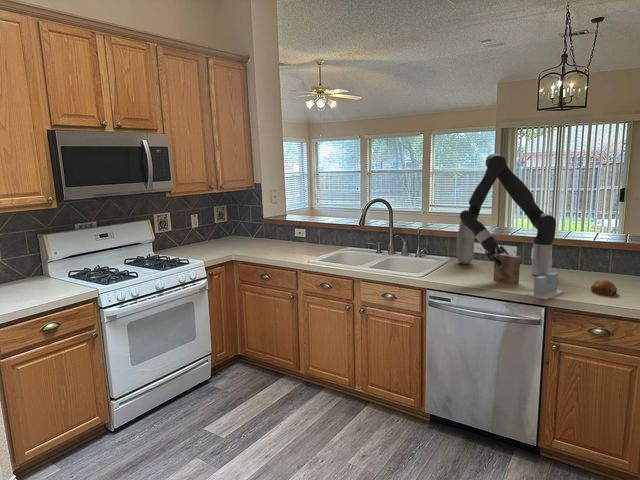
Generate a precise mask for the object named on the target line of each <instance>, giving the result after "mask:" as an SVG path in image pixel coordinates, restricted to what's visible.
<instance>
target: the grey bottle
mask: <svg viewBox="0 0 640 480" xmlns="http://www.w3.org/2000/svg"><path fill="white" fill-rule="evenodd" d="M456 235H457V236H456V251H455V252H456V255H455V256H456V260H457V261H458V262H459V263H460V264H464V265H467V264H470V263H471V262H472V261H473V259H474V255H475V254H474V253H475V252H474V251H475V235H474V234H473V232H472V231H471V230H470V229H469V228H468V227H467V226H466V225H465V224H464V223H463V222H462V221H461V220H460V221H459V227H458V232H457V234H456Z"/></svg>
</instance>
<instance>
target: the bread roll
mask: <svg viewBox="0 0 640 480" xmlns="http://www.w3.org/2000/svg"><path fill="white" fill-rule="evenodd" d="M590 290H591V292H592V293H594V294H597V295H601V296H606V297H607V296H610V297H611V296H616V294H617V292H618V287H617V286H616V285H615V284H614V283H613V282H612V281H610V280H608V279H599V280H598V279H597V280H596V281H594V282H593V283H592V284H591V287H590Z"/></svg>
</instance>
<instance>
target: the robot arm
mask: <svg viewBox="0 0 640 480" xmlns="http://www.w3.org/2000/svg"><path fill="white" fill-rule="evenodd" d="M485 166H486V170H485V173H484V175H483V177H482V179H481V181H480V182H479V183H478V184H477V186H476V188H475V189H474V191H473V192H472V195H471V196H470V198H469V201H468V205H469V207H468V209H464V210H462V211H461V212H460V214H459V219H460V221H462V222H463V223H464V224H465V225H466V226H467V227H468V228H469V229H470V230H471V231H472V232H473V234H474V237H475V238H476V239H477V241H478V243H479V244H480V245H481V248H482V249H484V250H485V251H484V254H485V255H486V256H487V257H488V259H489V261H493V262H494V261H495V263H496V264H497V265H498V266H499V267H500V266H501V265H502V263H501V262H500V260H499V259H497V255H498V254H500V253H502V254H508V255H510V254H509V252H508V251H507V250H506V248H504V246H503V245H500V246H499V245H498V243H499V242H498V240H497V239H495V237H494V235H493V234H492V232H490V230H489V229H487V228H486V226H485V225H484V223H482V222H481V221H479V220H478V218H479V215H480V212H481V209H482V206H483V204H484V201H485V200H486V198H487V196H488V194H489V192H490V190H491V188H492V187H493V185H494V184H495V182H496V180H497V179H498V180H499V181H500V183H501V184H502V187H503V188H504V189H505V191H506V192H507V194H508V195H509V197H510V198H511V200H513V202H514V203H516V205H517V206H518V207H519V209H520V210H521V211H522V212H524V214H525V215H526V217H527V218H528V220H529V221H530V223H531V224H532V226H533V227H534V229H536V230H537V232H536V236H535V237H534V238H533V240H532V241H533V242H532V256H531V269H530V271H531V273H530V274H531V275H534V276H536V277H538V276H546V274H547V273H550V272H552V268H553V267H552V266H553V265H552V264H553V257H552V255H553V241H554V239H555V236H556V229H557V221H556V218H555V217H554V216H552V215H550V214H547V213H545V212H544V211H543V210H541V208H540V207H539V205H537V203H536V201H535V199H534V196H533V194H532V191H531V190H530V189H529V187H528V186H527V185H526V184H525V183H524V182H523V181H522V179H521V178H519V177H518V176H517V175H516V173H513V171H512V170H511V169H510V167H509V166H508V165H507V161H506V158H505V157H504V156H503V155H502V154H499V153H491V154H489V155H488V156H487V157H486V159H485Z"/></svg>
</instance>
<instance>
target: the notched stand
mask: <svg viewBox="0 0 640 480" xmlns="http://www.w3.org/2000/svg"><path fill="white" fill-rule="evenodd" d="M558 281H559V272H554V271H551V272H550V273H547V274H546V276H535V277H534V282H533V283H534V284H533V291H530V292H527V293H526V296H529V297H533V298H537V299H541V300H546V301H547V300H548V299H551V298H554V297H557V296H559V295H562V294H564V292H565V290H561V289H558Z"/></svg>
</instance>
